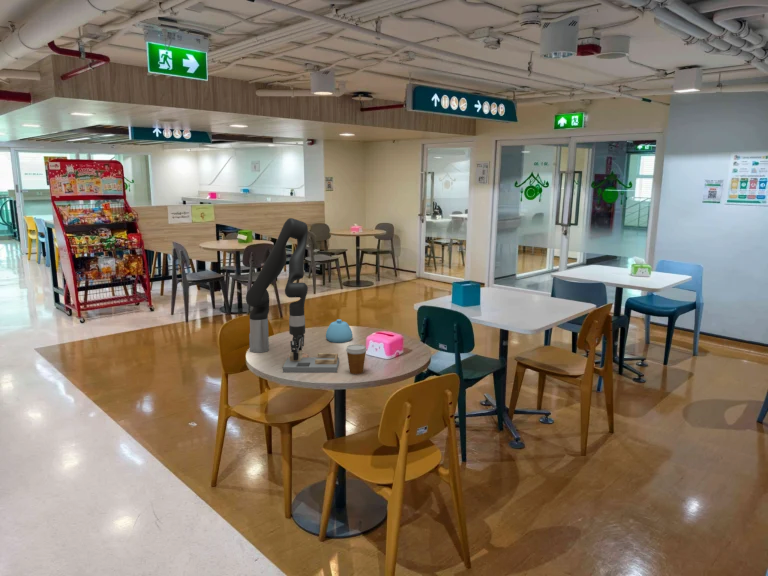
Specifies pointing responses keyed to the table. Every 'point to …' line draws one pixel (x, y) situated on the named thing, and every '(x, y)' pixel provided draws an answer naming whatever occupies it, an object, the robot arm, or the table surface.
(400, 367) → the table surface
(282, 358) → the table surface
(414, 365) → the table surface
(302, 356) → the saucer
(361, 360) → the disposable coffee cup
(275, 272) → the robot arm
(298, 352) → the block
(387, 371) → the table surface
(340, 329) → the sugar bowl
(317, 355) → the frame
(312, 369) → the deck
